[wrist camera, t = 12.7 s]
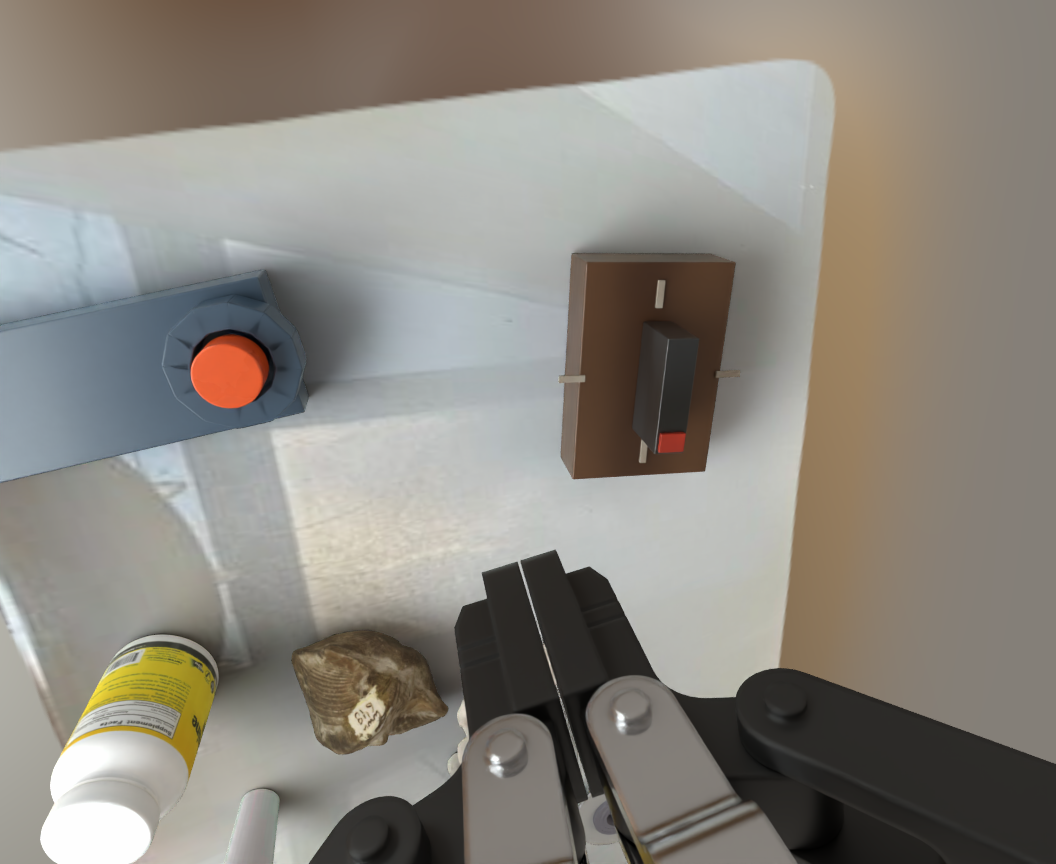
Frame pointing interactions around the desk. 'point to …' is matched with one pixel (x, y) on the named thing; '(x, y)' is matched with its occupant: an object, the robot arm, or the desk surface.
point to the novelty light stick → (254, 829)
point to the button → (230, 371)
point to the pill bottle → (130, 752)
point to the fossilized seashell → (365, 689)
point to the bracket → (597, 821)
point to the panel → (637, 356)
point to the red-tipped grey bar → (664, 386)
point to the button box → (136, 373)
